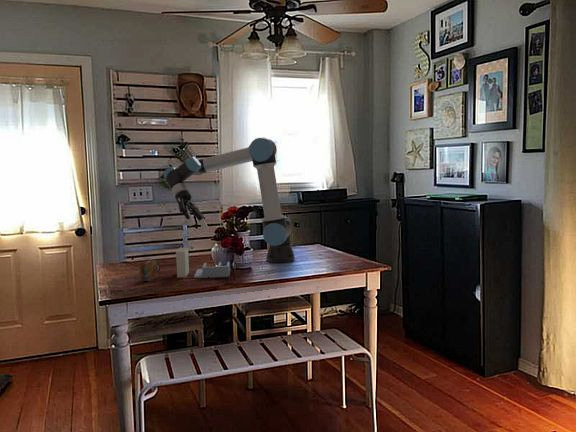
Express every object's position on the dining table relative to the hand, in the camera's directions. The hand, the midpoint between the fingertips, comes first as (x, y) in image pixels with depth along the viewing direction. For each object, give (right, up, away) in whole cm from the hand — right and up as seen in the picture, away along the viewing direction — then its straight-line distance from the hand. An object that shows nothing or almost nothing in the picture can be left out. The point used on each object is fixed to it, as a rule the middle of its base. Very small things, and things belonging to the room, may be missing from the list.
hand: (199, 227), depth 241 cm
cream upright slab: (-7, -22, -6) cm, 24 cm away
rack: (+7, -22, -6) cm, 24 cm away
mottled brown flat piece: (-20, -24, -14) cm, 34 cm away
